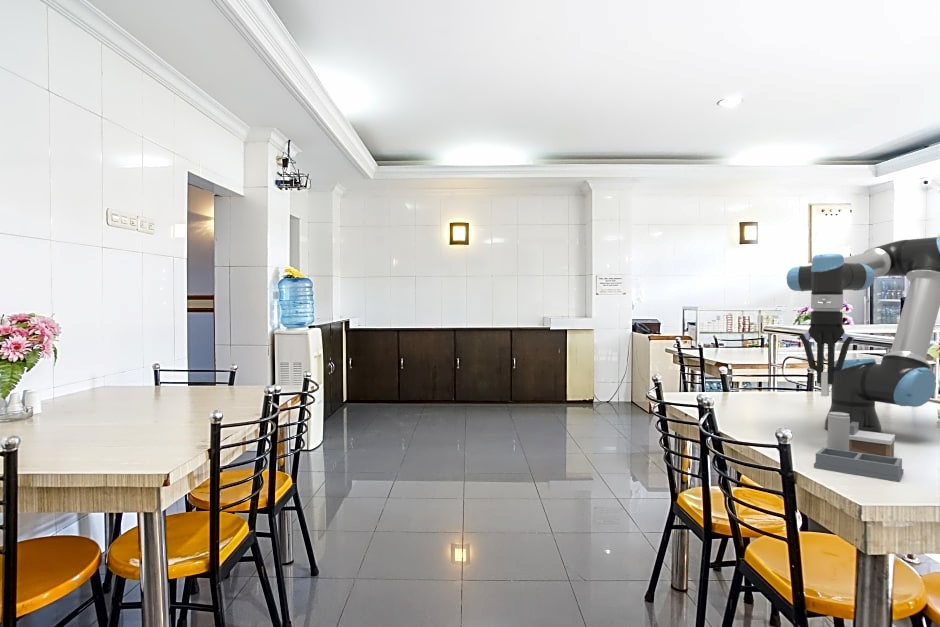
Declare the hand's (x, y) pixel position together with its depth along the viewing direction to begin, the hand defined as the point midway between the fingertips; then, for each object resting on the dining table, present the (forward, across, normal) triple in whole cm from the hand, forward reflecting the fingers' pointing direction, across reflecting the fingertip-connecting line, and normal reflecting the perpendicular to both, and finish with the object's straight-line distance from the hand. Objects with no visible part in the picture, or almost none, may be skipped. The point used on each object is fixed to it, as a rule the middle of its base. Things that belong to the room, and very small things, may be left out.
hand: (824, 395), depth 160 cm
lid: (+10, +11, 0) cm, 15 cm away
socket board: (+15, +10, -17) cm, 25 cm away
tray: (+15, +11, 0) cm, 19 cm away
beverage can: (+15, +5, -8) cm, 18 cm away
